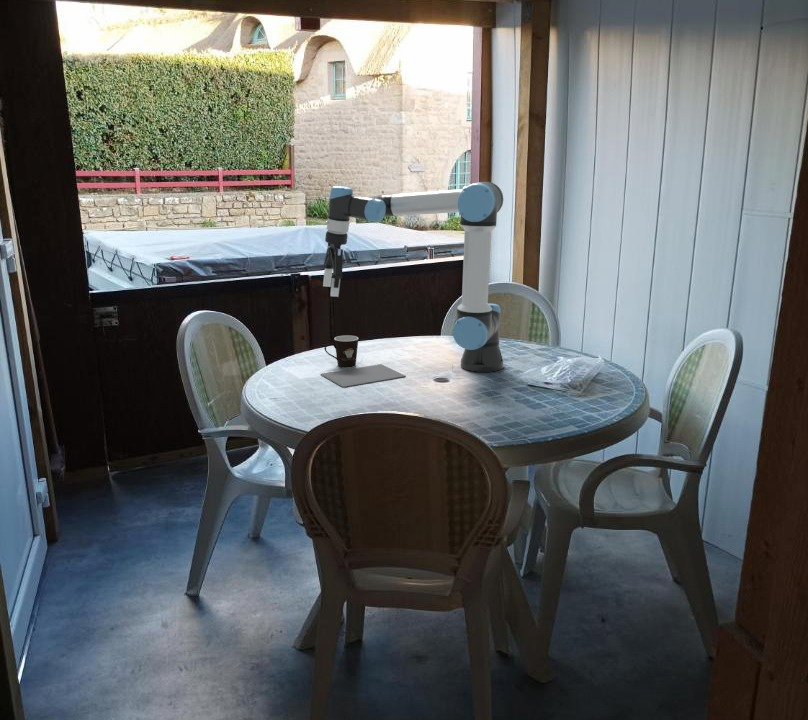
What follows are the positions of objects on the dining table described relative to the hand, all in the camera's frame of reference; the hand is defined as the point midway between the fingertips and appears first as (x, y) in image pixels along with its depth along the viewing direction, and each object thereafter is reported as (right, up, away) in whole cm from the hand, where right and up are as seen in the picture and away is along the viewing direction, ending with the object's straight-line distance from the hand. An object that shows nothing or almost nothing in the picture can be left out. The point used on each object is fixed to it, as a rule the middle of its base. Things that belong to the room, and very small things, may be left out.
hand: (330, 291), depth 269 cm
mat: (+12, -30, -9) cm, 34 cm away
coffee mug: (+4, -26, +4) cm, 27 cm away
